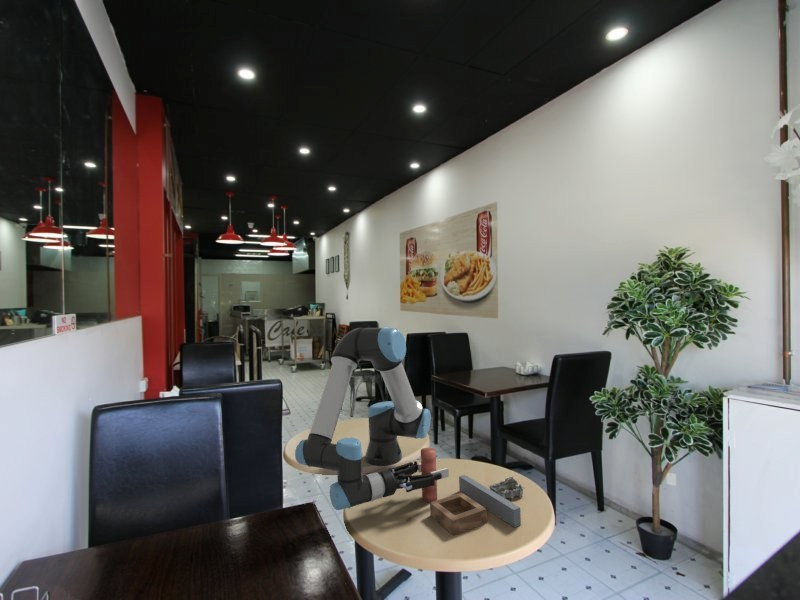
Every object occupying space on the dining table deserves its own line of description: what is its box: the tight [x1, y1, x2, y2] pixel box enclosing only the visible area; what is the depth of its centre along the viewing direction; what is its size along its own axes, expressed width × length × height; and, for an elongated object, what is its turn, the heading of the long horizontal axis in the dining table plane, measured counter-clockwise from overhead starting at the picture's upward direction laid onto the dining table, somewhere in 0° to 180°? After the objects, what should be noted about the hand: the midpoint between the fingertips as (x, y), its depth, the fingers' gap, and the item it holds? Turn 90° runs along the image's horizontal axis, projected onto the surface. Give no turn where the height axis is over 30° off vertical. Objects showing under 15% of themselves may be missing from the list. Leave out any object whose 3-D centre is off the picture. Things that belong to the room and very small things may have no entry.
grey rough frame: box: [488, 476, 525, 499], centre depth 133 cm, size 11×8×4 cm
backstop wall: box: [458, 474, 522, 528], centre depth 126 cm, size 26×2×5 cm, turn 28°
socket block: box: [429, 492, 488, 536], centre depth 119 cm, size 12×12×4 cm
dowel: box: [420, 447, 438, 503], centre depth 132 cm, size 5×5×16 cm
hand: (441, 468), depth 134 cm, fingers open, 7 cm apart
